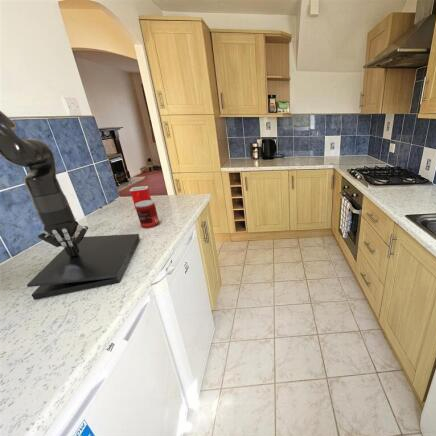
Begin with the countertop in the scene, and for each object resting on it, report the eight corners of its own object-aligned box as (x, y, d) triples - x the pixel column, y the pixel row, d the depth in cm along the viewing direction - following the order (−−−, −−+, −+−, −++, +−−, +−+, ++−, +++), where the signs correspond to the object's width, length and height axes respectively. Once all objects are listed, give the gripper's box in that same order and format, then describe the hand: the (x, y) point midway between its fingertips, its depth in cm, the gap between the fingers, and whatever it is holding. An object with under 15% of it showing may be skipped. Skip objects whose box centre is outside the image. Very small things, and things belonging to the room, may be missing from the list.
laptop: (34, 299, 69) (30, 294, 68) (79, 249, 95) (78, 244, 94) (119, 282, 75) (117, 277, 74) (140, 239, 101) (138, 235, 100)
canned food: (156, 220, 119) (151, 198, 115) (161, 224, 114) (156, 202, 109) (139, 224, 115) (132, 202, 110) (143, 229, 109) (136, 207, 105)
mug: (137, 205, 140) (132, 187, 136) (153, 203, 143) (148, 185, 138) (133, 212, 130) (127, 193, 126) (150, 210, 132) (145, 191, 128)
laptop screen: (27, 287, 67) (26, 284, 67) (76, 239, 93) (75, 237, 93) (117, 278, 74) (116, 275, 74) (139, 235, 100) (138, 233, 100)
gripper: (83, 200, 80) (101, 246, 87) (33, 206, 76) (56, 253, 83) (73, 208, 73) (93, 257, 80) (17, 214, 69) (43, 265, 76)
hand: (74, 255), depth 81 cm, fingers closed
